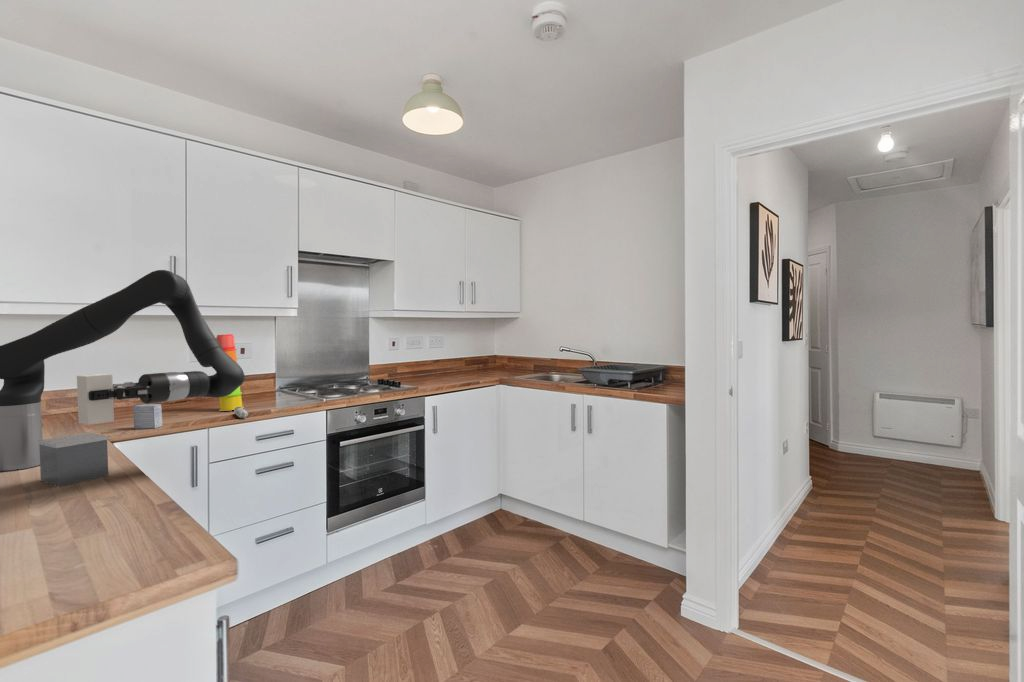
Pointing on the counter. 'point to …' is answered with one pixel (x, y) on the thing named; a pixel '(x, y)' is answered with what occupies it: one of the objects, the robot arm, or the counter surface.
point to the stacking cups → (229, 348)
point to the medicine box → (147, 416)
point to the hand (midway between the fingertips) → (84, 395)
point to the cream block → (98, 408)
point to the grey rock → (240, 412)
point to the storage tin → (73, 458)
